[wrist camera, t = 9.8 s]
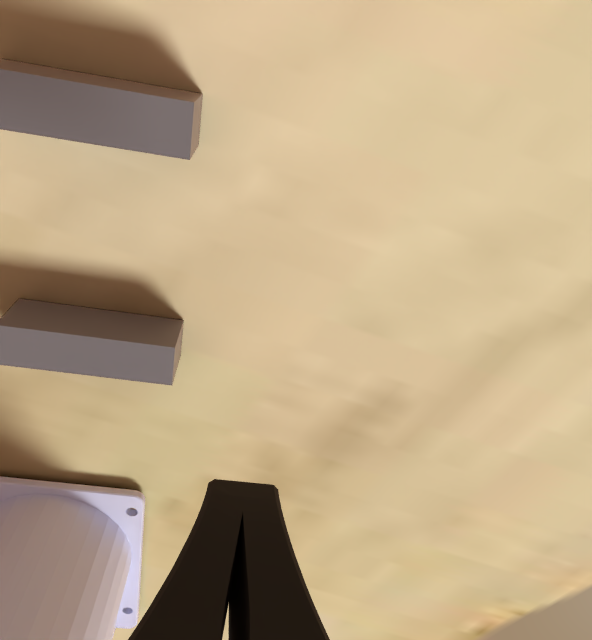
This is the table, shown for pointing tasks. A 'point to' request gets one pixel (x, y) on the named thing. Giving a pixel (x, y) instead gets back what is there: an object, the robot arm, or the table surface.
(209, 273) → the table surface
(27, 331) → the grey u-shaped piece
